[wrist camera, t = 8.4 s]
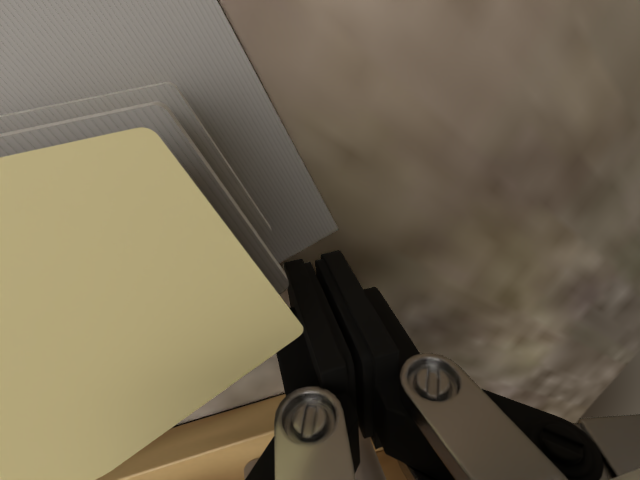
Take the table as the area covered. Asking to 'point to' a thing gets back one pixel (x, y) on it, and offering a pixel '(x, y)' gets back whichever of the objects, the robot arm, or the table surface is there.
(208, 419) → the peg rack
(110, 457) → the stacked layers on plate
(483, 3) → the table surface
